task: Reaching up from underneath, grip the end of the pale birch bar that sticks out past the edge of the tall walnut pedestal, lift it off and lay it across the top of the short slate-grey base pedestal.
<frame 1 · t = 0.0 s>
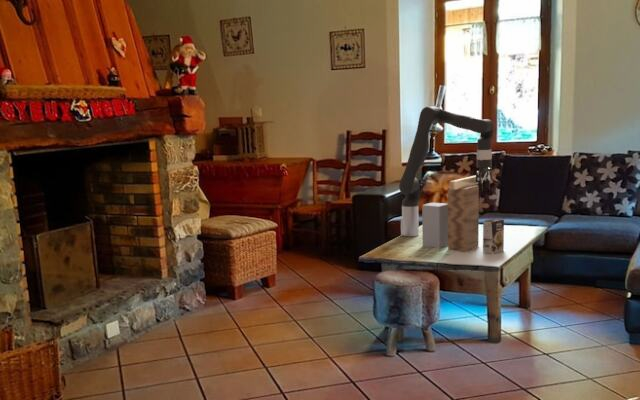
hand: (483, 189, 319), 29 cm above the table, tool pointing down, fingers open, 8 cm apart
bar: (466, 186, 314), point 32 cm above the table, touching tall pedestal
coffee box: (493, 252, 307), on the table
tall pedestal: (463, 248, 317), on the table
base pedestal: (435, 245, 325), on the table
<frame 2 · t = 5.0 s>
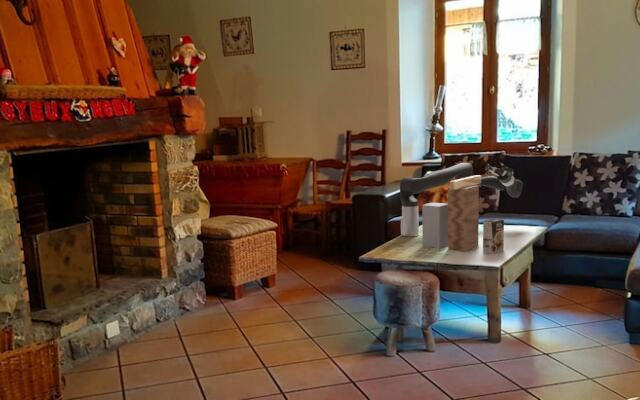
hand: (495, 165, 339), 39 cm above the table, tool pointing upward, fingers open, 8 cm apart
nothing on the table moved.
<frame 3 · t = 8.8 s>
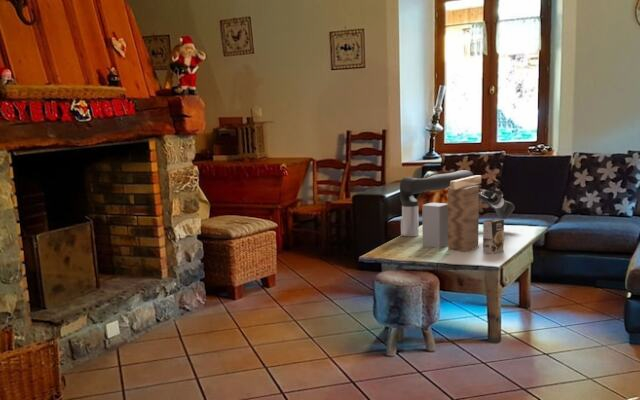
hand: (484, 188, 331), 28 cm above the table, tool pointing upward, fingers open, 8 cm apart
nothing on the table moved.
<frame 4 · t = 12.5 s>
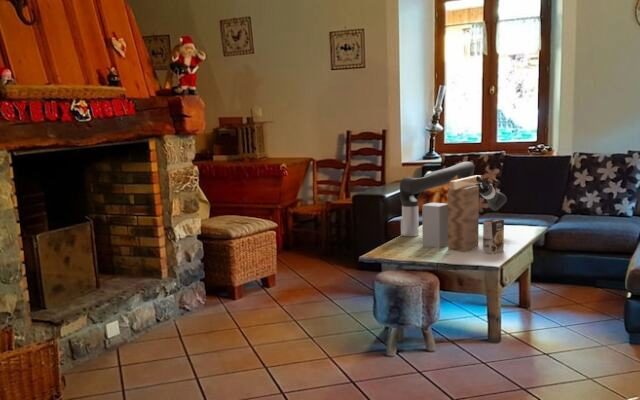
hand: (473, 177, 320), 35 cm above the table, tool pointing upward, fingers closed on bar, 3 cm apart
bar: (466, 186, 314), point 32 cm above the table, touching gripper, tall pedestal
everything else where it was.
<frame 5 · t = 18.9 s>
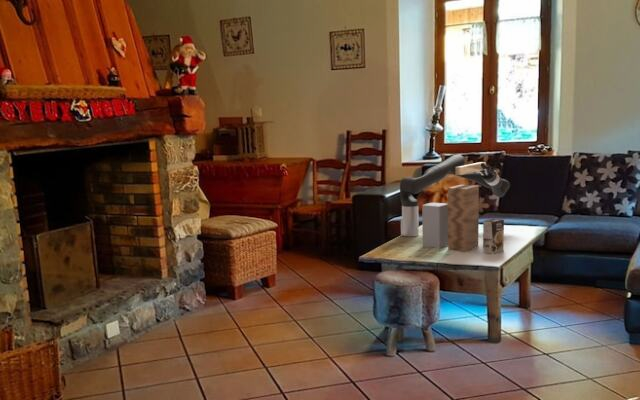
hand: (478, 164, 331), 41 cm above the table, tool pointing upward, fingers closed on bar, 3 cm apart
bar: (471, 172, 325), point 38 cm above the table, touching gripper
everything else where it was.
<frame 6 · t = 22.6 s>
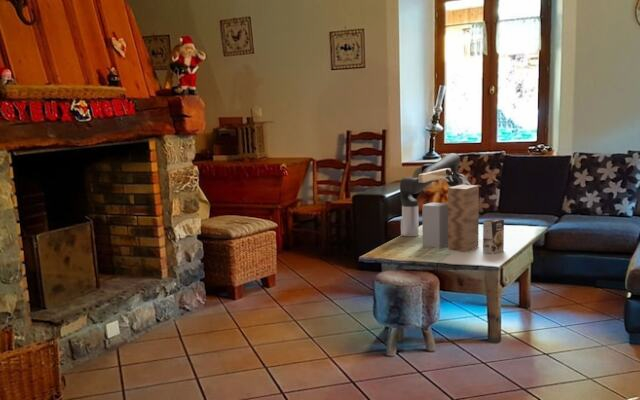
hand: (443, 170, 325), 39 cm above the table, tool pointing upward, fingers closed on bar, 3 cm apart
bar: (435, 179, 320), point 35 cm above the table, touching gripper
everything else where it was.
when the fingers open (27 cm above the table, at t = 25.5 s): bar drops 1 cm, resting on base pedestal.
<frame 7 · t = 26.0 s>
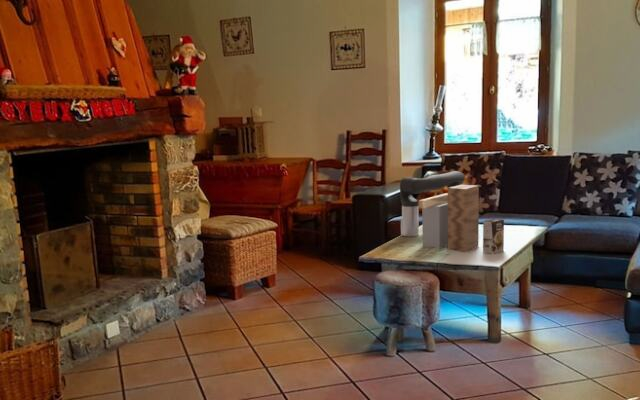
hand: (444, 193, 328), 27 cm above the table, tool pointing upward, fingers open, 8 cm apart
bar: (435, 204, 322), point 22 cm above the table, touching base pedestal
everything else where it was.
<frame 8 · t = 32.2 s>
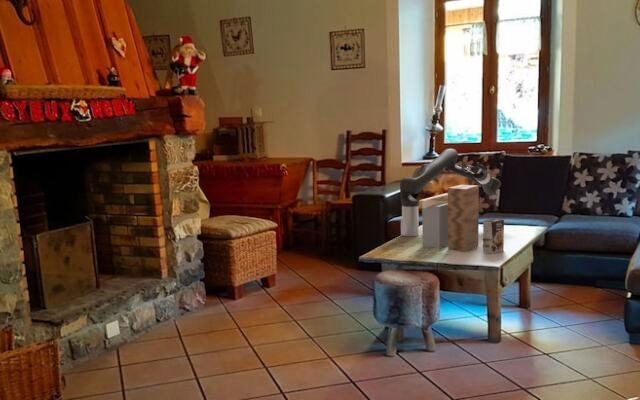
hand: (470, 163, 338), 41 cm above the table, tool pointing upward, fingers open, 8 cm apart
nothing on the table moved.
at the end: bar inside the target area on the base pedestal (0.1 cm from its centre), point 22.0 cm above the base pedestal's base; bar touching base pedestal; the gripper is holding nothing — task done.
